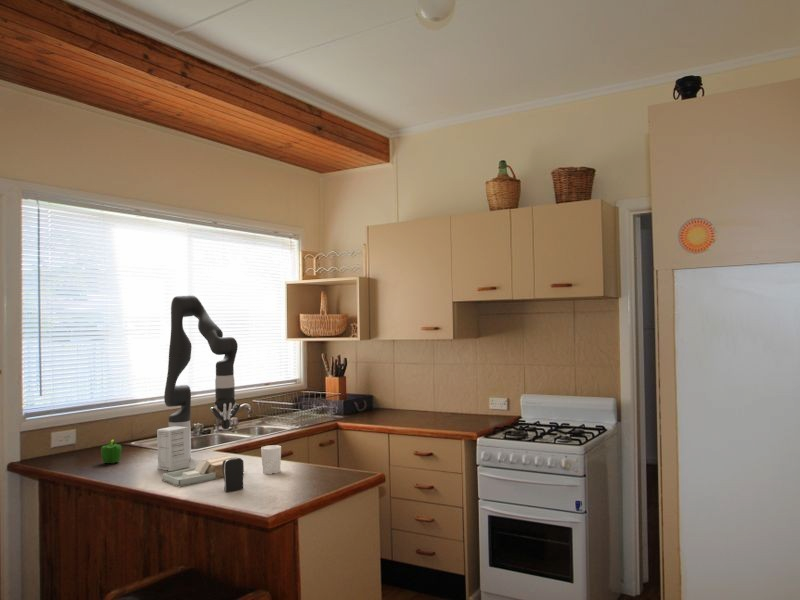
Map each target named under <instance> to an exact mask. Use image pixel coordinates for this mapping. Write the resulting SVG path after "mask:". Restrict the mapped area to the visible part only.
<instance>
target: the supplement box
mask: <svg viewBox="0 0 800 600" xmlns="http://www.w3.org/2000/svg"><path fill="white" fill-rule="evenodd" d="M156 431H157V432H156V434H157V435H156V441H157V443H156V444H157V470H161V469H162V470H163V471H167V470H168V471H169V472H174V471H179V470H183V469H187V468H189V467H190V459H189V436H188V427H179V426H173V427H169V426H168V427H163V428H159V429H156ZM162 470H161V471H162ZM168 471H167V472H168Z"/></svg>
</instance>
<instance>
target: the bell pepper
mask: <svg viewBox="0 0 800 600" xmlns="http://www.w3.org/2000/svg"><path fill="white" fill-rule="evenodd" d="M114 442H115V440H114V439H111V440H110V444H107V445H103V446H101V447H100V454H101V458H102V461H103V463H104V464H105V463H111V464H116V463H115V462H117V463H119V462H120V459H121V456H122V450H123V449H122V448H123V447H122V445H121V444H117V443H114ZM118 461H119V462H118Z"/></svg>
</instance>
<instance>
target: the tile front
mask: <svg viewBox="0 0 800 600" xmlns="http://www.w3.org/2000/svg"><path fill="white" fill-rule="evenodd" d="M199 475H200V472H197V471H195V470H194V471H189V472H184V473H182V478H183V479H185V478H190V477H195V476H199Z"/></svg>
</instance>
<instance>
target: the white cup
mask: <svg viewBox="0 0 800 600" xmlns="http://www.w3.org/2000/svg"><path fill="white" fill-rule="evenodd" d="M260 452H261V454H260V455H261V465H262V473H263V474H264V473H266V474H265V475H273V474H272V473H275V474H279V473H280V472H281V464H282V463H281V461H282V446H281V445H279V444H278V445H276V444H275V445H274V444H273V445H265V446H261V448H260ZM278 472H279V473H278Z"/></svg>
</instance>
